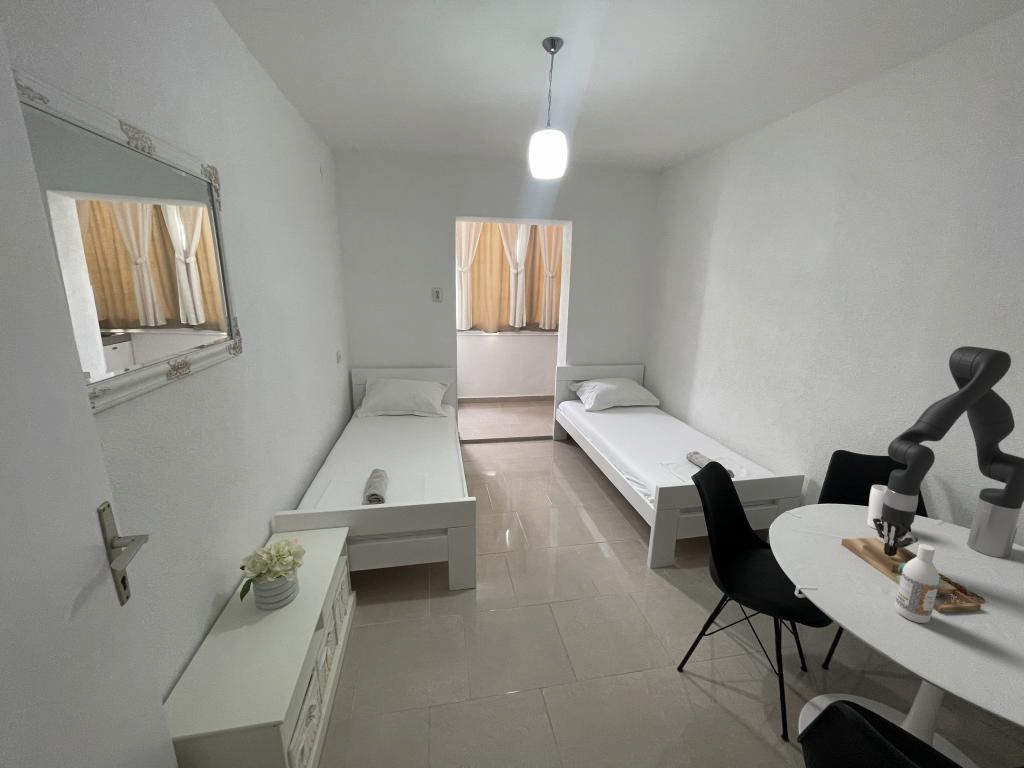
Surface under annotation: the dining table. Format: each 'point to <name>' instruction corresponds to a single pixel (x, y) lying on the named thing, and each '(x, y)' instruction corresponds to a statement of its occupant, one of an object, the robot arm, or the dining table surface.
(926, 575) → the bath foam
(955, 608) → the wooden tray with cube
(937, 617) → the dining table surface
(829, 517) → the dining table surface
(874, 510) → the drinking glass
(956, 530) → the dining table surface
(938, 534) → the dining table surface
